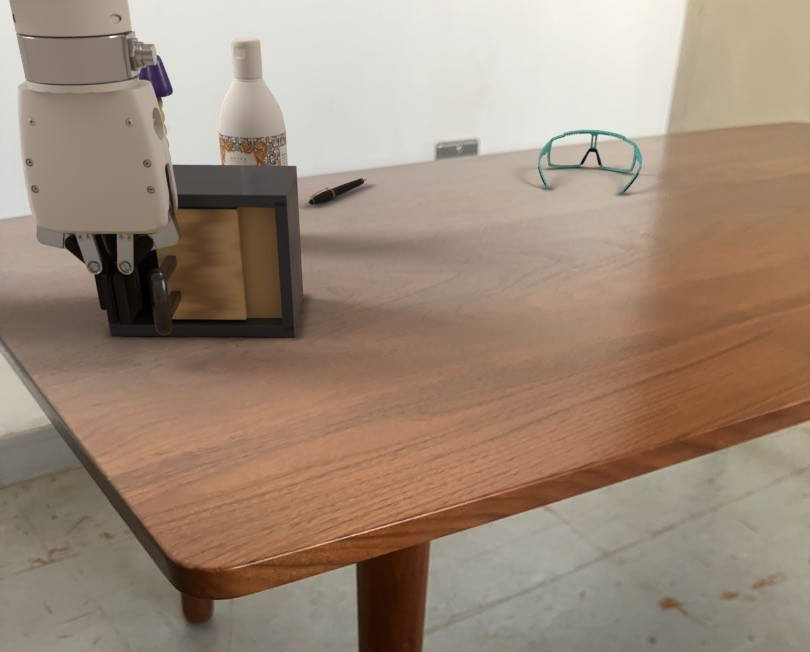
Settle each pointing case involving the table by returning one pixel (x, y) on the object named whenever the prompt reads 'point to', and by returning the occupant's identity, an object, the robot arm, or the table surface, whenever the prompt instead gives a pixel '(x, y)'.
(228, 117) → the bath foam
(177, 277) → the sliding door
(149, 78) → the toy lamp
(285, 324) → the cupboard
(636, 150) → the sunglasses
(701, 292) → the table surface
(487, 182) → the table surface
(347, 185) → the fountain pen
